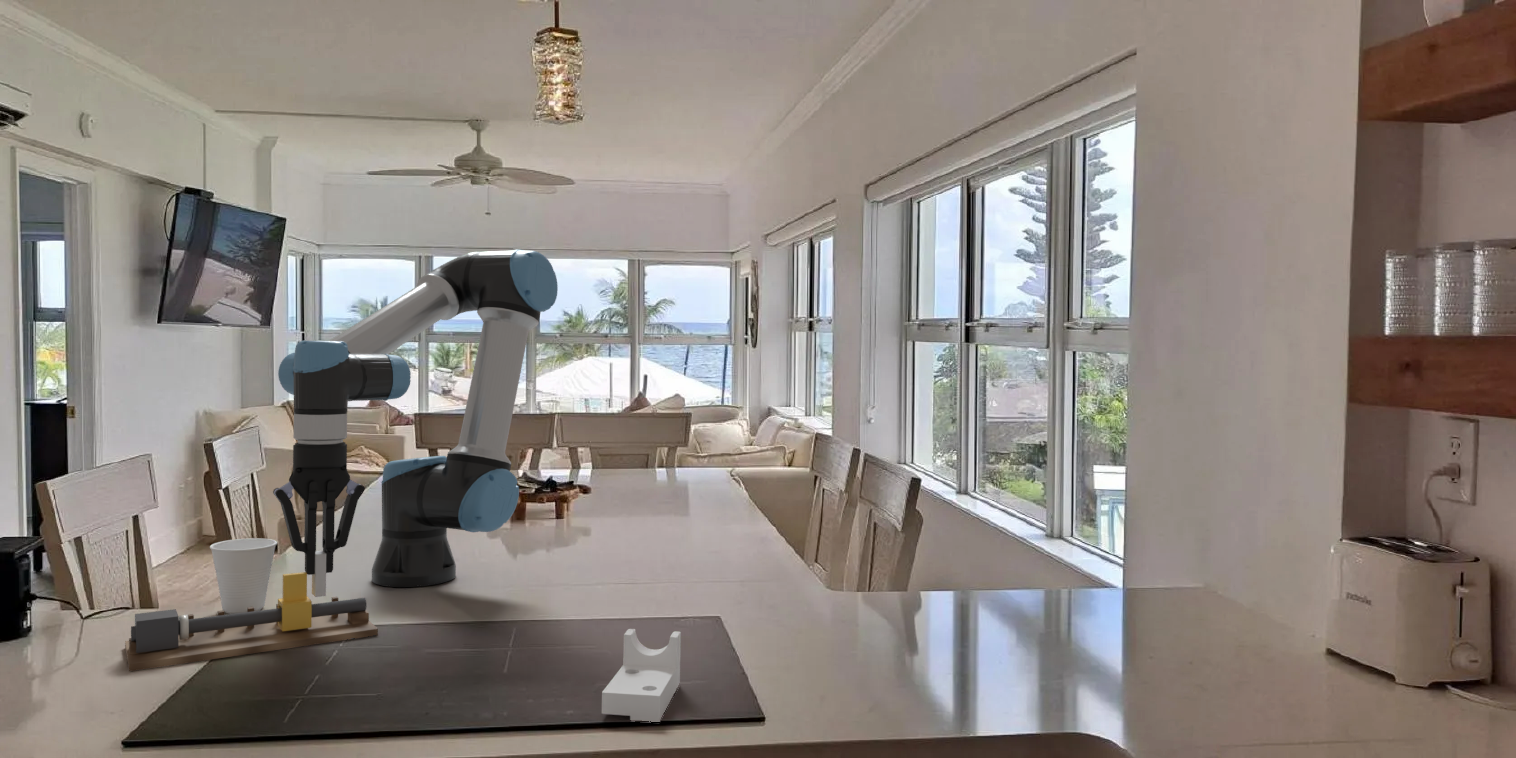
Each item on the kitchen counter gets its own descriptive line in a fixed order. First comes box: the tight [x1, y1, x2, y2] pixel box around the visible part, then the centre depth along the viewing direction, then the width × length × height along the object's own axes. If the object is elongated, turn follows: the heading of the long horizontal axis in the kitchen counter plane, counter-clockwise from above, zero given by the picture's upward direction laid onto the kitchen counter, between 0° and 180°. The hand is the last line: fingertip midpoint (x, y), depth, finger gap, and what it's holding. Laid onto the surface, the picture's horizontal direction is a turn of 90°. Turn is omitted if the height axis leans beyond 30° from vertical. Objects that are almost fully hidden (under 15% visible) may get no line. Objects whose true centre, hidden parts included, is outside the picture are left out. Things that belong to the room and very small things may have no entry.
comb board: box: [124, 596, 379, 672], centre depth 144 cm, size 32×12×4 cm, turn 125°
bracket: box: [601, 628, 682, 723], centre depth 123 cm, size 13×7×8 cm, turn 174°
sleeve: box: [277, 571, 313, 631], centre depth 147 cm, size 4×4×8 cm
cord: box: [130, 597, 367, 641], centre depth 144 cm, size 31×2×2 cm, turn 125°
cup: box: [209, 537, 278, 615], centre depth 161 cm, size 10×10×11 cm
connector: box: [134, 608, 189, 653], centre depth 138 cm, size 6×4×4 cm
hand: (318, 594), depth 149 cm, fingers closed
